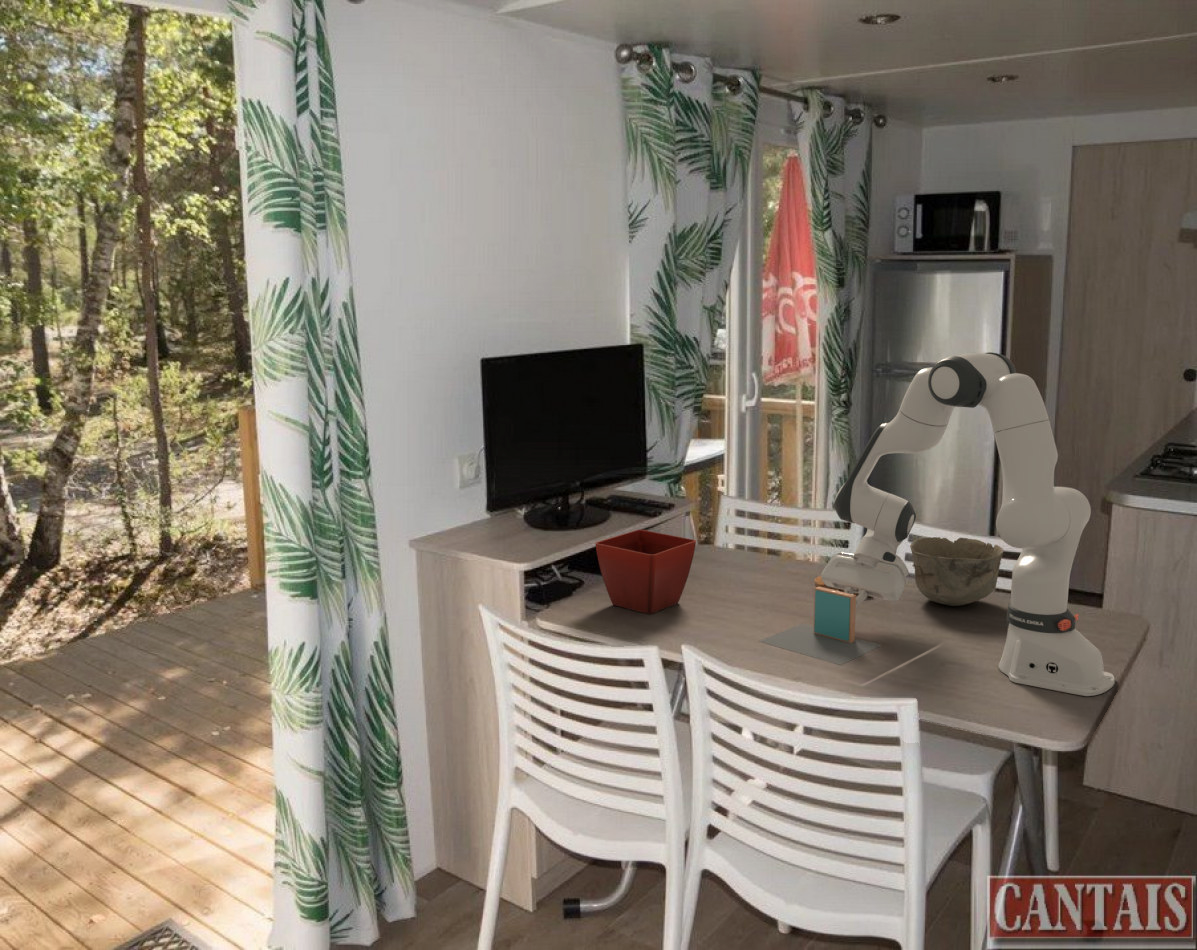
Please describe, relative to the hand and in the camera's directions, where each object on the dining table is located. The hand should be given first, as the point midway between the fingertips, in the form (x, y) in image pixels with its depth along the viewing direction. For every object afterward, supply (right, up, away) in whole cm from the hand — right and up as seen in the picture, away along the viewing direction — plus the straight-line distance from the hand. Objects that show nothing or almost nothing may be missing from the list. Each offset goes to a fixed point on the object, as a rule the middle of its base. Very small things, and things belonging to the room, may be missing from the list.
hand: (848, 606), depth 252 cm
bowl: (+32, -2, +22) cm, 38 cm away
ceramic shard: (+7, 0, +36) cm, 36 cm away
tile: (-4, -7, -3) cm, 9 cm away
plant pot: (-47, -3, +25) cm, 53 cm away
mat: (-8, -8, -7) cm, 14 cm away
